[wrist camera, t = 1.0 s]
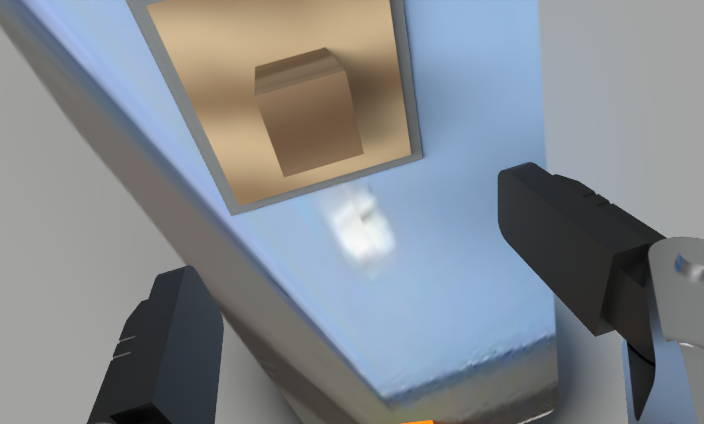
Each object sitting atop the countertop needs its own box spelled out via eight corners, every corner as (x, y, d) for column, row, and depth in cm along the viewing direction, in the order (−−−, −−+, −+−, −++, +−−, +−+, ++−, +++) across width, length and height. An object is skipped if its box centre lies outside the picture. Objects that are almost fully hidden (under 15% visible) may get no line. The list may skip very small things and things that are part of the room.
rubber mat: (121, -14, 19) (119, -13, 19) (389, -84, 20) (392, -85, 19) (231, 213, 27) (231, 216, 26) (420, 156, 27) (422, 158, 27)
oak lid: (149, 4, 19) (104, 17, 14) (376, -57, 20) (424, -68, 14) (239, 200, 26) (234, 263, 20) (407, 150, 26) (447, 197, 21)
